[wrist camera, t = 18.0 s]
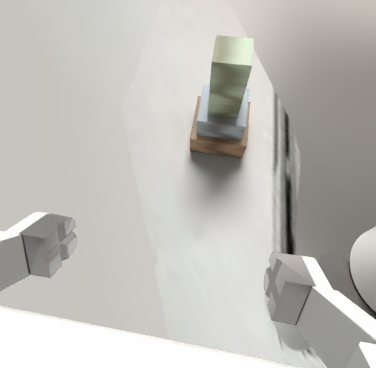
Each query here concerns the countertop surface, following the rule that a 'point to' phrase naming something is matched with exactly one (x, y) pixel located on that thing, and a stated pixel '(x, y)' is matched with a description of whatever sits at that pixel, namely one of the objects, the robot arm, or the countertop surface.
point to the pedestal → (219, 129)
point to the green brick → (229, 75)
